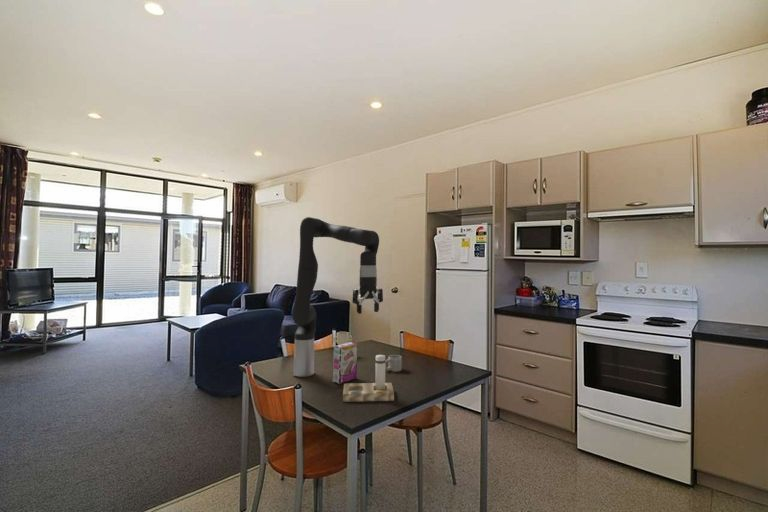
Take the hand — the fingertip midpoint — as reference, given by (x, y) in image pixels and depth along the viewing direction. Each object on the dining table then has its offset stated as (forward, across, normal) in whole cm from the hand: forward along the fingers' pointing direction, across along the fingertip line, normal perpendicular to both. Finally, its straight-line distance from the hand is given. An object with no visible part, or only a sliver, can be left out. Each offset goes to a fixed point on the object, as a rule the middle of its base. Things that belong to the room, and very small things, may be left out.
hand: (367, 312), depth 159 cm
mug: (+32, -22, -12) cm, 41 cm away
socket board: (+32, +6, +10) cm, 34 cm away
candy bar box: (+32, +5, -12) cm, 35 cm away
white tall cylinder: (+32, +1, +12) cm, 34 cm away
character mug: (+32, -14, -51) cm, 62 cm away
